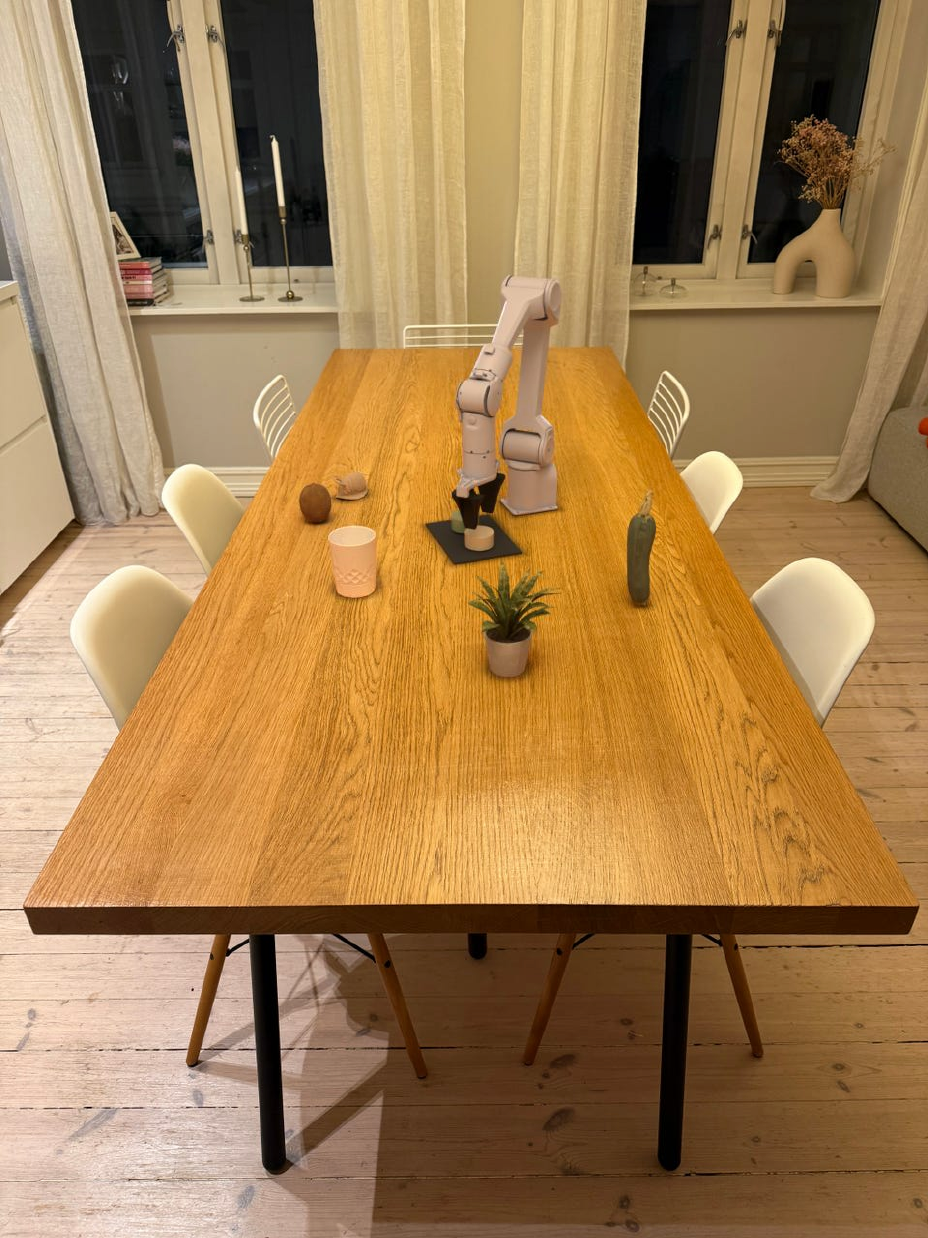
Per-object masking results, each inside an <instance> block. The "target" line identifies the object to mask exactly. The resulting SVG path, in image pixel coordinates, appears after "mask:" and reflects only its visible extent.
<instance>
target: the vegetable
mask: <svg viewBox="0 0 928 1238" xmlns="http://www.w3.org/2000/svg"><path fill="white" fill-rule="evenodd" d="M653 495H654V490H652V489H651V488H649V489H648V491H647V492H646V494H645V495H644V497H643V500H642V501H641V502H640V504H639V507H638V511H637V513H636V514H634V515H633V516H632V517H631V519H630V521H629V524H628V528H627V535H626V536H627V537H626V582H627V583H626V584H627V590H628V593H629V596H630V598H631V600H632V601H633V602H634V603H635V604H636V605H637V606H639V605H640V606H644V607H646V605H647V604H649V603H650V595H651V579H650V578H651V577H650V560H651V559H650V558H651V553H652V551H653V550H652V549H653V546H654V542H655V540H656V539H655V538H656V535H657V534H656V533H657V523H656V520H655V518H654V517H653V515H652V514H650V513H651V510H652V508H653V507H652V506H653V499H654V497H653Z"/></svg>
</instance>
